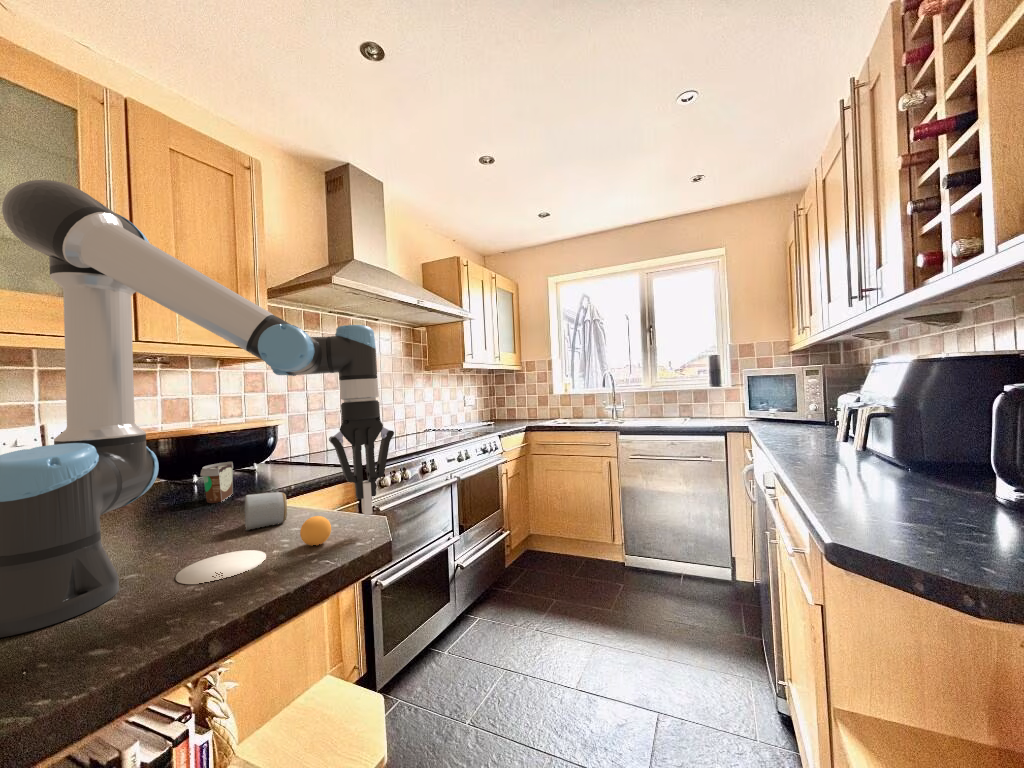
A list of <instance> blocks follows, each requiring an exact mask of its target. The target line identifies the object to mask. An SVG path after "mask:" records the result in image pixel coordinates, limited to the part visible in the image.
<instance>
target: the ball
mask: <svg viewBox="0 0 1024 768" xmlns="http://www.w3.org/2000/svg"><path fill="white" fill-rule="evenodd" d="M299 532H300V538H301V540H302V542H303V543H304V544H306V545H308V546H312V547H314V546H313V545H316V546H319V544H320V545H323V544H324V543H325V542H326V541H328V539H329V538H330V536H331V533H332V525H331V522H330V520H328V519H327V518H326V517H325V516H323V515H322V516H321V515H315V516H311V517H309V518H308V519H306V520H305V521H304V522H303V524H302V525H301V528H300V531H299ZM323 542H324V543H323Z"/></svg>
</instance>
